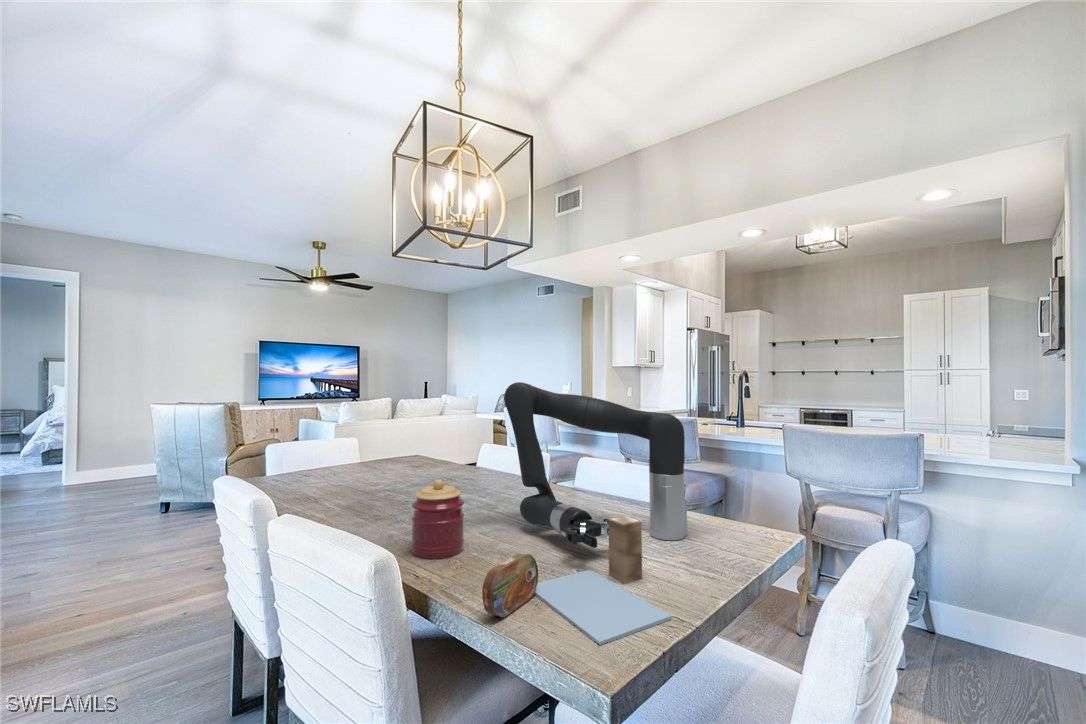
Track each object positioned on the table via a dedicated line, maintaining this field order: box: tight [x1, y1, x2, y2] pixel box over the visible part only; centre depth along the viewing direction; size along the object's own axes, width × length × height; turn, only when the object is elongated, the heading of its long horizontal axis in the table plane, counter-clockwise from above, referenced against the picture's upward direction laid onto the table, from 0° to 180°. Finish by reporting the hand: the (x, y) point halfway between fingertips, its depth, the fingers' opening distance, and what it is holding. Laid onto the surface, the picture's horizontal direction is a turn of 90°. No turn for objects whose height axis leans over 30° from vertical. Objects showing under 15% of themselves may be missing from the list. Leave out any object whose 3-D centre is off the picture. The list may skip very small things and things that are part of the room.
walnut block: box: [608, 515, 643, 585], centre depth 101 cm, size 5×5×12 cm
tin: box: [481, 553, 539, 618], centre depth 88 cm, size 15×3×8 cm, turn 148°
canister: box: [410, 479, 465, 560], centre depth 118 cm, size 13×13×18 cm
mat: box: [533, 569, 672, 646], centre depth 89 cm, size 16×24×1 cm, turn 31°
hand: (611, 540), depth 105 cm, fingers open, 8 cm apart
